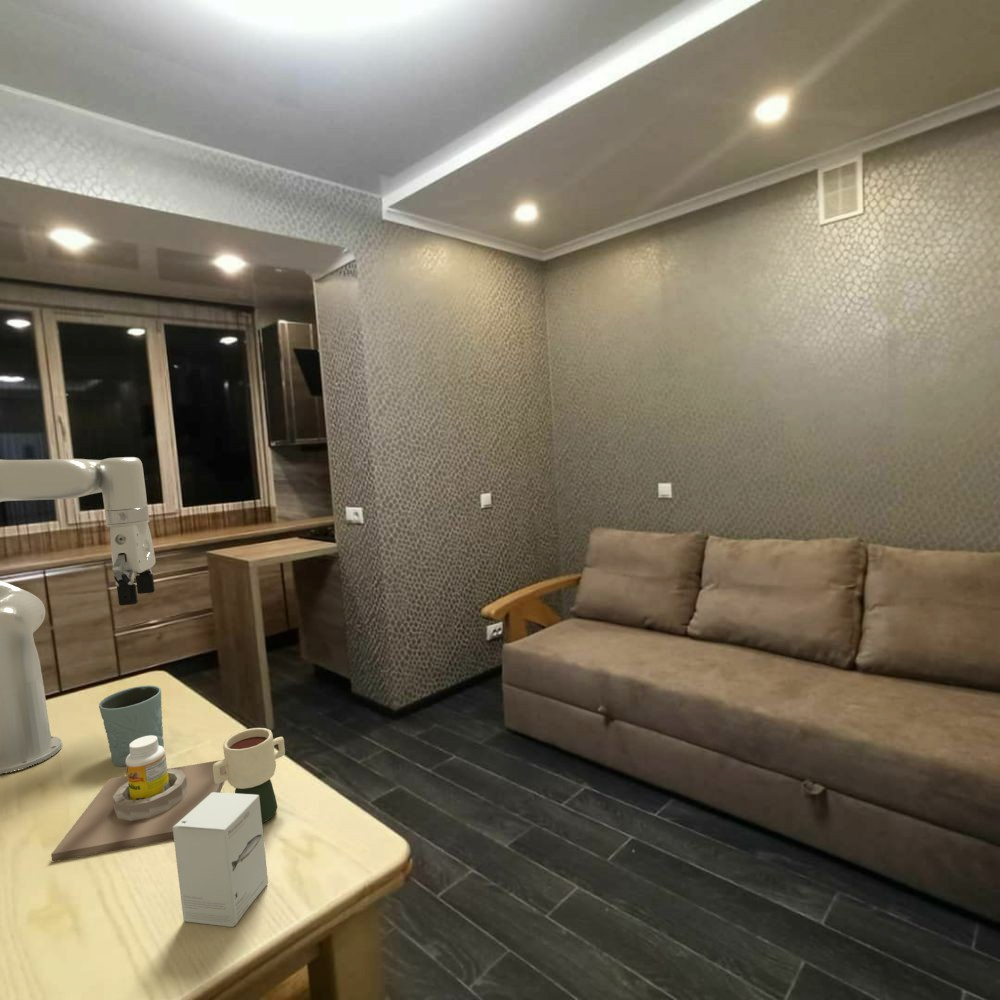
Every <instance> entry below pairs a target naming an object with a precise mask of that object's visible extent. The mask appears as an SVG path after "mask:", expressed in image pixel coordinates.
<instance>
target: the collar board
mask: <svg viewBox="0 0 1000 1000" xmlns="http://www.w3.org/2000/svg"><path fill="white" fill-rule="evenodd" d="M221 760H222V759H219V760H214V761H207V762H201V763H195V764H190V765H184V766H177V767H170V768H167V770H168V778H169V786H170V788H169V789H167V790H166V791H165V792H163V793H161V794H158V795H156V796H153V797H151V798H147V799H141V800H136V801H133V800H131V799H130V792H129V785H128V777H127V775H123V776H118V777H117V776H116V777H111V778H109V779H108V780H107V782H105V784H104V785H103V786H102V788H101V789H100V790H99V792H98V793H97V794H96V796H95V797H94V798H93V800H91V802H90V803H89V805H88V806H87V808H85V810H84V811H83V813H82V814H81V815H80V816H79V817H78V819H76V821H75V823H74V824H73V825H72V827H71V828H70V829H69V830H68V832H67V833H66V834H65V836H64V837H63V838H62V839H61V841H60V842H59V843H58V844H57V846H56V847H55V848H54V850H53V851H52V852H51V854H50V856H51V857H50V858H51V862H52V861H54V862H58V860H60V861H64V859H65V860H70V859H75V858H79V857H80V858H81V857H85V856H91V855H95V854H101V853H106V852H113V851H117V850H123V849H128V848H132V847H133V848H134V847H138V846H144V845H149V844H155V843H158V842H160V843H161V842H164V841H170V840H174V835H173V826H174V825H176V824H177V823H178V822H179V821H180V820H181V819H182V818H184V817H185V816H186V815H187V814H188V813H189V812H190V811H191V810H192V809H194V808H195V807H196V806H197V805H198V804H199V803H200V802H202V801H203V800H204V799H205V798H206V797H207V796H208V795H209V794H210V793H212V792H217V793H221V791H222V789H223V786H224V784H225V782H226V781H224V782H222V783H218V784H216V783H215V782H214V775H213V765H214V764H215V763H216V762H218V761H221ZM220 774H221V776H222V775H224V774H226V767H225V766H223V767H221V768H220ZM69 858H70V859H69Z"/></svg>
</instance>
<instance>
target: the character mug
mask: <svg viewBox="0 0 1000 1000" xmlns="http://www.w3.org/2000/svg"><path fill="white" fill-rule="evenodd" d="M273 736H274V735H273V732H272V730H271V729H268V728H265V727H253V728H247V729H244V730H241V731H240V730H239V731H238V732H236V733H233V734H232V735H230V736H229V737H228V738H226V739H225V741H224V742H223V747H222V748H223V756H224V759H220V760H221V761H219V760H217V761H218V762H216V763H215V764H214V765H213V775H214V782H215V783H216V784H218V783H222V782H224V781H225V782H226V781H227V782H228V784H229V785H230V786H231V787H233V788H234V793H237V794H254V795H259V799H260V808H261V818H262V824H263V823H264V822H265V823H266V822H267V821H269V820H270V819H271V818H272V817H273V816H274V815H275V814H276V812H277V810H278V806H279V805H278V804H277V803H278V802H277V799H276V794H275V790H274V787H273V783H272V780H271V778H273V776H274V775H275V772H276V769H277V768H276V767H277V764H276V763H277V761H276V760H277V759H279V758H283V756H285V754H286V749H285V748H286V747H285V739H284V737H283V736H279V737H275V738H274V737H273ZM276 745H277V746H278V751H277V752H276V751H275V746H276ZM223 766H225V767H226V774H224V775H222V776H221V774H220V768H221V767H223ZM225 782H224V783H225Z"/></svg>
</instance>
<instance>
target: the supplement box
mask: <svg viewBox="0 0 1000 1000" xmlns="http://www.w3.org/2000/svg"><path fill="white" fill-rule="evenodd" d="M173 835H174V839H173V841H174V843H173V844H174V851H175V859H176V860H175V861H176V867H177V876H178V884H179V891H180V894H179V895H180V903H181V910H182V919H183V921H184V922H188V923H195V924H202V925H211V926H212V925H213V926H219V927H230V928H234V927H236V925H238V923H239V921H240V920H241V918H242V917H243V916H244V914H245V913H246V912H247V910H248V909H249V907H250V906H251V905H252V904H253V903H254V902H255V900H256V898H257V897H258V896H259V895H260V894H261V892H262V891H263V890H264V888H266V887H267V885H268V884H269V878H268V877H269V876H268V869H267V868H268V867H267V859H266V858H267V857H266V847H265V840H264V839H265V838H264V830H263V823H262V818H261V808H260V799H259V795H254V794H237V793H235V792H220V793H217V792H212V793H210V794H209V795H208V796H207V797H206V798H205V799H204V800H203V801H202V802H200V803H199V804H198V805H197V806H196V807H195V808H194V809H192V810H191V811H190V812H189V813H188V814H187V815H186V816H185V817H184V818H182V819H181V820H180V821H179V822H178V823H177V824H176V825H174V826H173Z"/></svg>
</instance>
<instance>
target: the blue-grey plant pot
mask: <svg viewBox="0 0 1000 1000" xmlns="http://www.w3.org/2000/svg"><path fill="white" fill-rule="evenodd" d="M162 704H163V703H162V688H161V687H159V686H157V685H152V684H151V685H150V684H149V685H138V686H132V687H129V688H125V689H122V690H120V691H117V692H115V693H113V694H110V695H107V697H104V698H103V699H102V700H101V701H100V702H99V703H98V707H99V711H100V715H101V719H102V721H103V726H104V731H105V733H106V737H107V741H108V744H109V745H108V748H109V753H110V756H111V760H112V763H113V765H114V766H115V767H119V768H121V767H123V768H126V762H125V761H126V758H127V756H128V755H129V754H130V748H129V745H130V743H131V742H133V741H134V740H136V739H138V738H141V737H144V736H150V735H153V736H156V737H157V739H158V745H160V746H162V747H163V748H164V749H165V747H164V746H165V745H164V738H163V737H164V731H163V730H164V727H163V715H162V714H163V710H162V708H163V707H162Z"/></svg>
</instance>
